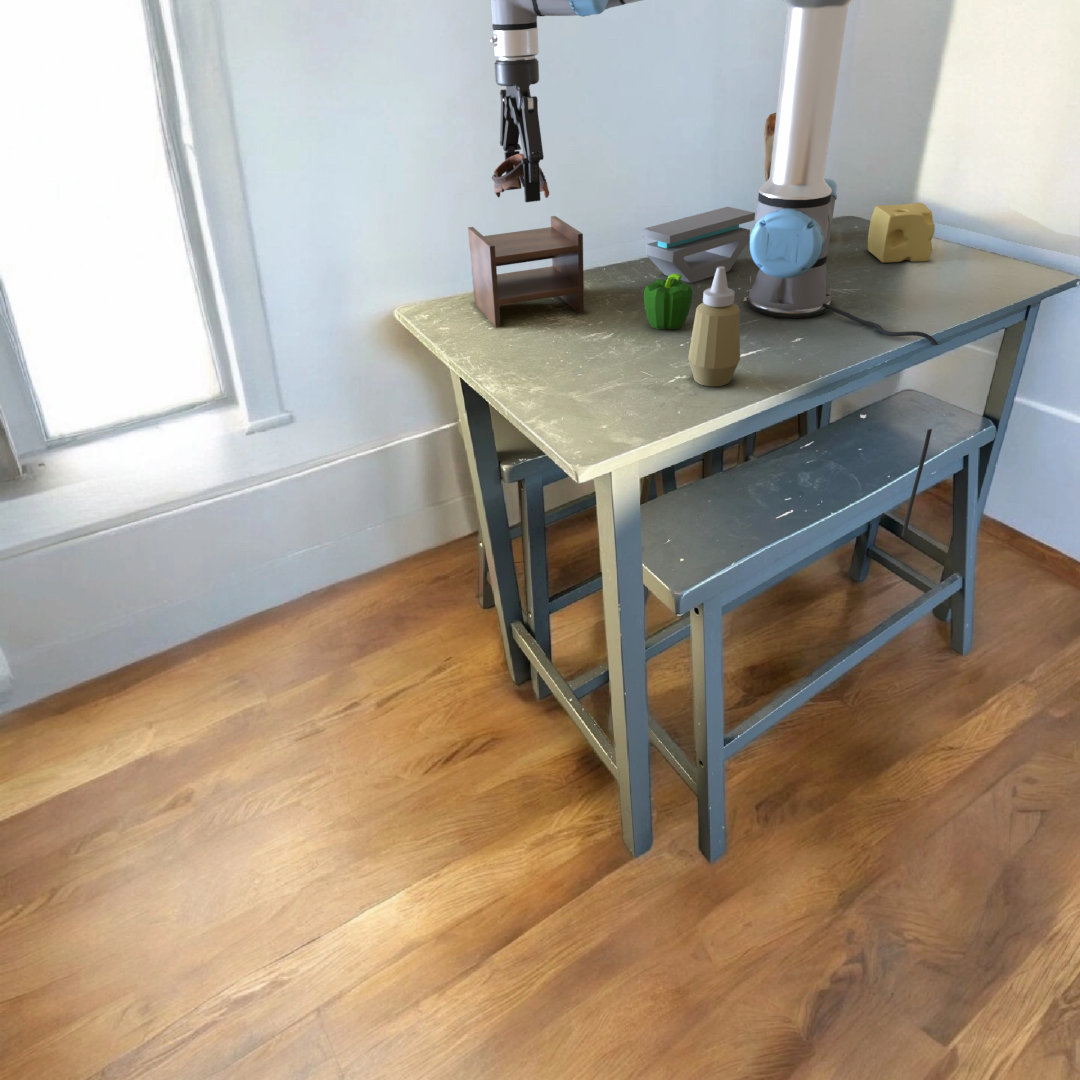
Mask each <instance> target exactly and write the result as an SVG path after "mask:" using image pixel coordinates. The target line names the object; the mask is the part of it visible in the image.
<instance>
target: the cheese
mask: <svg viewBox="0 0 1080 1080" xmlns="http://www.w3.org/2000/svg"><path fill="white" fill-rule="evenodd" d="M869 222H870V223H869V228H868V235H867V250H868V252H869V253H871V254H872V255H873V256H874V257H876V259H878V261H880V263H884V264H885V263H901V262H903V261H910V262H928V261H929V260H930V258H931V256H932V252H933V245H932V244H933V243H932V239H933V237H934V235H935V230H936V227H935V223H934V217H933V212H932V210H931V209H930V208H929V207H928V206H927V205H926V204H925V203H923V202H910V203H904V204H903V203H901V204H889V205H888V204H887V205H886V204H885V205H884V204H883V205H875V206H874V209H873V212H872V215H871V218H870V221H869Z"/></svg>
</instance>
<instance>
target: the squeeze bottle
mask: <svg viewBox="0 0 1080 1080" xmlns="http://www.w3.org/2000/svg"><path fill="white" fill-rule="evenodd" d="M728 286H729V285H728V280H727V272H725V267H722V266H719V267H717V269H716V273H715V276H713V280H712V283H711V286H710V287H708V288H706V289H705V290H703V294H702V303H700V304H698V305H697V307H696V308H695V313H694V314H695V315H694V321H693V325H692V326H693V327H692V332H691V339H690V345H689V349H688V350H689V351H688V357H687V359H688V362H689V365H690V369H691V373H692V376H693V379H694V382H696V383H698V384H699V385H701V386H706V387H722V386H725V385H727V384H729V383H731V381H732V378H733V376H734V374H735V372H736V370H737V367H738V365H739V362H740V360H741V327H740V326H741V322H740V319H741V317H740V308H739V306H738V305H737V304H736V303H735V296H736V295H735V294H736V292H735V291H734V290H733V289H731V288H729V287H728Z"/></svg>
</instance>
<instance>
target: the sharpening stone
mask: <svg viewBox="0 0 1080 1080" xmlns="http://www.w3.org/2000/svg"><path fill="white" fill-rule="evenodd" d="M753 221H756V212H754V211H749V210H744V209H740V208H735V207H731V206H724V207H721V208H717V209H713V210H709V211H706V212H702V213H698V214H694V215H690V216H687V217H686V216H685V217H682V218H678V219H675V220H670V221H668V222H663V223H660V224H656V225H652V226H649V227H644V228H642V237H643V238H646V239H650V240H654V241H653V242H649V243H647V244H646V248H645V255H646V256H647V257H648V259H649V260H650V261H651V262H652V263H653V264H654V265H655V266H656V267H657V268H658V269H659V270H660V272H661V273H663V275H665V276H667V277H668V276H670V275H671V274H673V273H674V274H679V275H681V276H682V277H681V279H680V281H682V282H686V283H690V284H692V283H696V282H699V281H702V280H705V279H708V278H711V277H714V276H715V273H716V269H717V267H719V266H722V267H725V272H726V273H727V272H728V273H729V272H730V270H731V269H732V268H733V266H734V264H735V263H736V262H737V260H738V258H739V257H740V255H741V254H742V252H743V251H744V249H745V247H746V246H747V245H748V243H749V242H750V235H751V229H748V228H744V227H740V225H742V224H746V223H749V222H753Z"/></svg>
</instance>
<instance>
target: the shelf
mask: <svg viewBox="0 0 1080 1080" xmlns="http://www.w3.org/2000/svg"><path fill="white" fill-rule="evenodd" d="M467 232H468V242H469V255H470V265H471V277H472V287H473V299H474V304H475V306H476V307H477V308H478V309H479V310H480V311H481V313H483V315H484V316H485V317H486V318H487V319H488V320H489V321H490V323H491V324H492V325H493V326H494V327H495V328H500V327H501V326H502V325H501V313H500V312H501V311H500V306H506V305H513V304H519V303H524V302H525V303H527V302H531V301H538V300H545V299H551V298H557V297H559V298H561V299H562V300H563V301H564V302H565V303H566V304H567V305H569V307H571V308H572V309H573V310H574V311H576V313H578V314H584V313H585V292H584V291H585V289H584V288H585V287H584V286H585V285H584V283H585V282H584V280H585V279H584V278H585V277H584V233H583V232H581V231H579V230H578V229H577V228H575V227H573V226H572V225H570V224H568V223H567V222H565V221H564V220H562V219H561V218H560V217H558V216H556V215H551V216H550V226H548V227H541V228H533V229H532V228H531V229H525V230H518V231H511V232H503V233H496V234H488V235H483V234H482V233H481V232H480V231H478V230H477V229H476V228H475V227H473V226H468V227H467ZM550 259H551V262H552V263H551V264H552V265H551V266H545V267H539V268H531V269H525V270H518V271H517V270H516V271H511V272H505V273H498V272H497V271H498V270H497V267H501V266H509V265H517V264H522V263H530V262H536V261H543V260H550Z"/></svg>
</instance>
